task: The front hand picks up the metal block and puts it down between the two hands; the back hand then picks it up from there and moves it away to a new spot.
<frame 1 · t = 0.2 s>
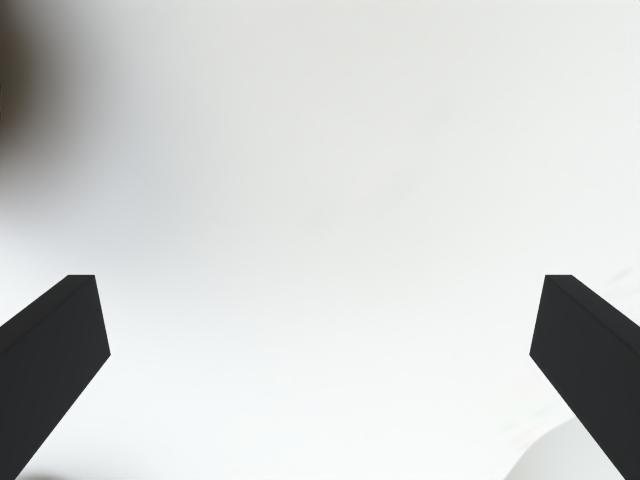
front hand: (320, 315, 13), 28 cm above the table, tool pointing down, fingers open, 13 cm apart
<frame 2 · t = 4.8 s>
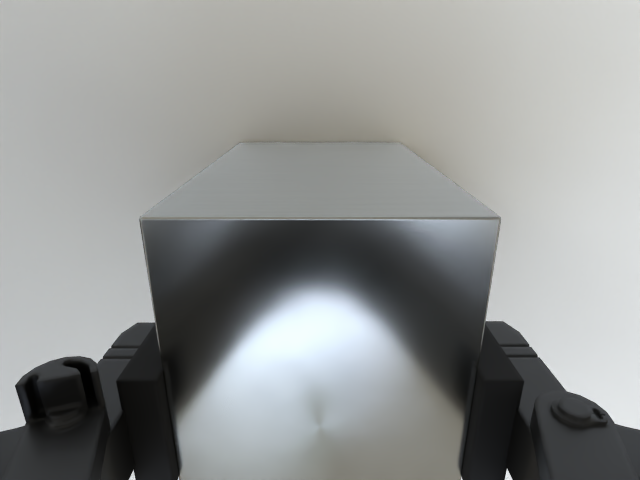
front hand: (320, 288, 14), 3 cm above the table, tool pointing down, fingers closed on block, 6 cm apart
block: (320, 251, 17), on the table, touching front hand
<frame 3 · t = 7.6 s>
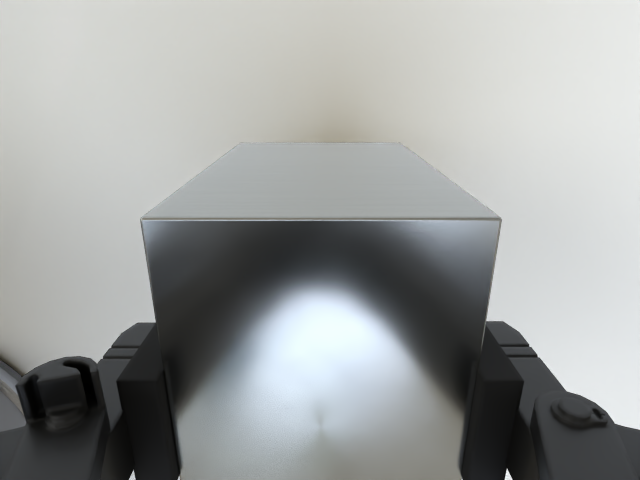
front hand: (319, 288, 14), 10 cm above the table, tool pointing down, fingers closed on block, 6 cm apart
block: (320, 251, 17), point 7 cm above the table, touching front hand
when the front hand's fingers open (5 cm above the table, at t = 10.5 s): block drops 1 cm, on the table.
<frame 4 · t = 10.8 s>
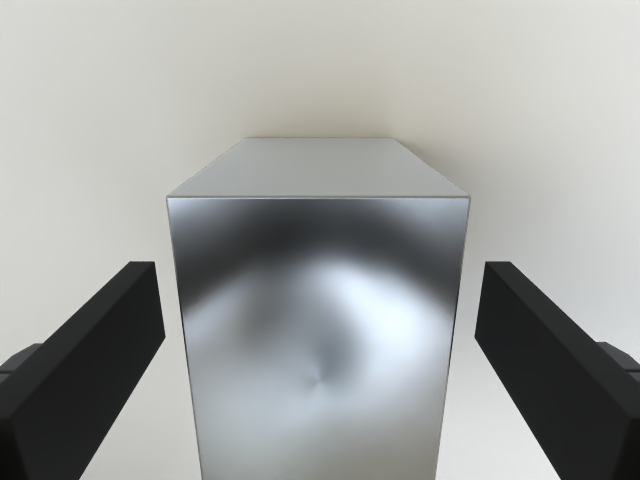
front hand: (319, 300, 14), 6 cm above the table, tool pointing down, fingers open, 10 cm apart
block: (319, 239, 19), on the table
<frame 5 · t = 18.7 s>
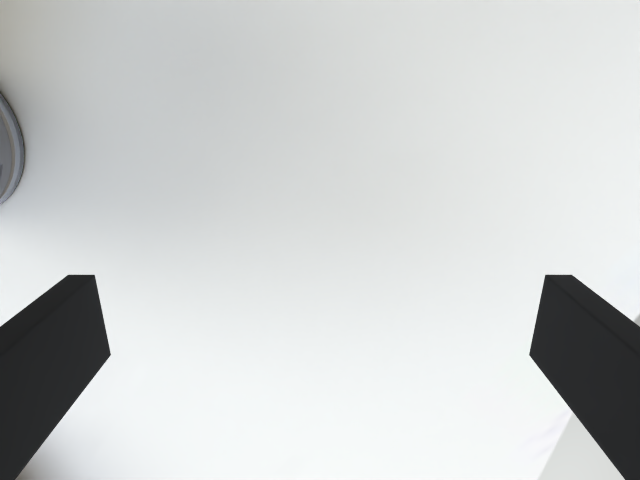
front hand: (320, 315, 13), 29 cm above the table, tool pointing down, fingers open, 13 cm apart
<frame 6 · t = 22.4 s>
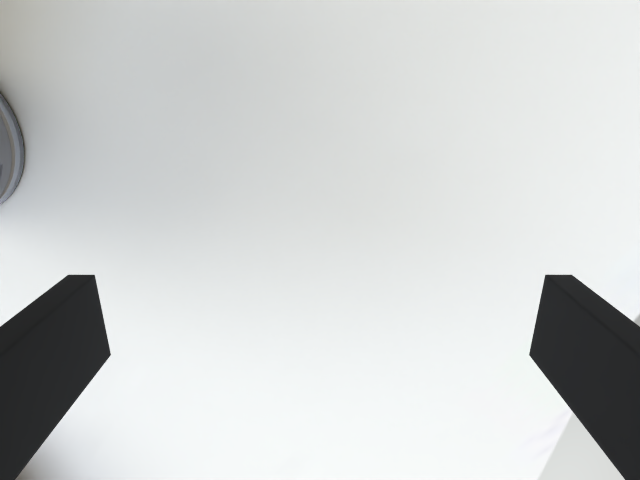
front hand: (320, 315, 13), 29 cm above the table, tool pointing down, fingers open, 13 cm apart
when the back hand's fingers open (5 cm above the table, at t = 26.0 s): block drops 1 cm, on the table.
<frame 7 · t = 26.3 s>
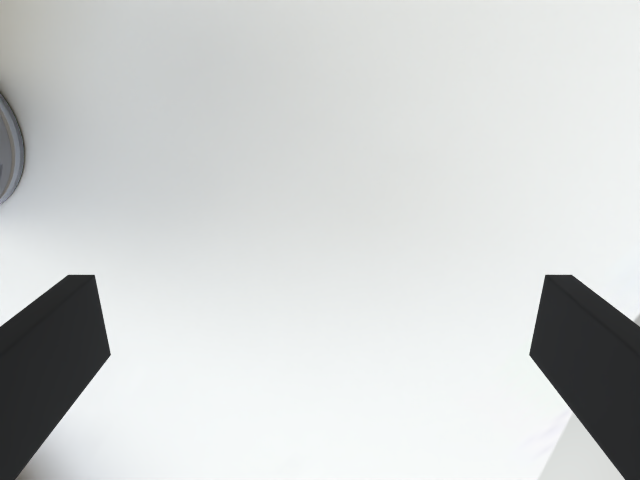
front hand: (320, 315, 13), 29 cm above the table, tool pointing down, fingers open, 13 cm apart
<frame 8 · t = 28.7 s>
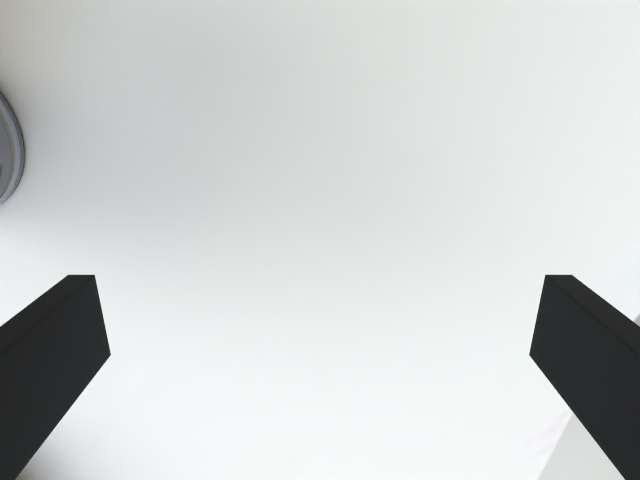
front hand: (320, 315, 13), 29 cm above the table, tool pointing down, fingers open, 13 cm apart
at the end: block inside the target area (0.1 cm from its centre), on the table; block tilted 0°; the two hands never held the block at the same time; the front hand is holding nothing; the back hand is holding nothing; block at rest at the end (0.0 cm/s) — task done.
